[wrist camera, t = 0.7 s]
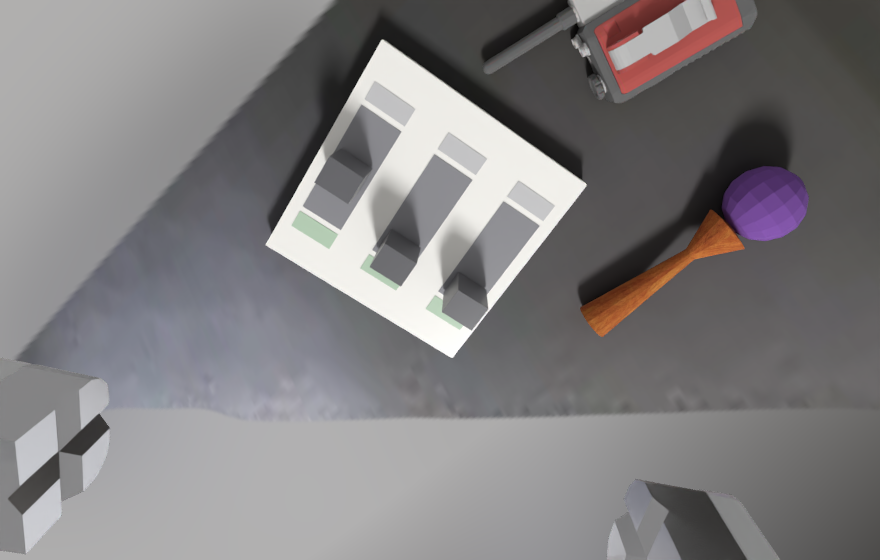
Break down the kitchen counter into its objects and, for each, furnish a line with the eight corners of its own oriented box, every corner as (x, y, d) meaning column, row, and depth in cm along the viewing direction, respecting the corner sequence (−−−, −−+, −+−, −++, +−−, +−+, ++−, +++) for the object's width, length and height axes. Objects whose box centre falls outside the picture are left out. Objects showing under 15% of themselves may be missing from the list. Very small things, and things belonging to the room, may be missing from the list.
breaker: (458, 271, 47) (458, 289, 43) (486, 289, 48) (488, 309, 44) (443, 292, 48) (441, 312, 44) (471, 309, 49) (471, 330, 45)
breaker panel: (385, 40, 43) (381, 39, 41) (582, 180, 46) (587, 184, 44) (273, 238, 49) (265, 245, 47) (452, 348, 53) (452, 358, 51)
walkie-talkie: (716, -94, 39) (476, 58, 43) (746, -114, 35) (477, 57, 39) (757, 20, 41) (526, 153, 46) (789, 15, 37) (532, 161, 42)
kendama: (571, 308, 46) (790, 152, 40) (571, 288, 52) (763, 148, 45) (614, 359, 47) (838, 214, 40) (609, 334, 52) (805, 203, 45)
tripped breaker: (341, 148, 44) (329, 155, 40) (372, 168, 44) (363, 178, 40) (327, 172, 45) (314, 182, 41) (358, 192, 45) (348, 204, 41)
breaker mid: (391, 228, 46) (384, 243, 42) (420, 247, 47) (416, 263, 43) (377, 250, 47) (369, 267, 43) (406, 268, 47) (400, 286, 43)
